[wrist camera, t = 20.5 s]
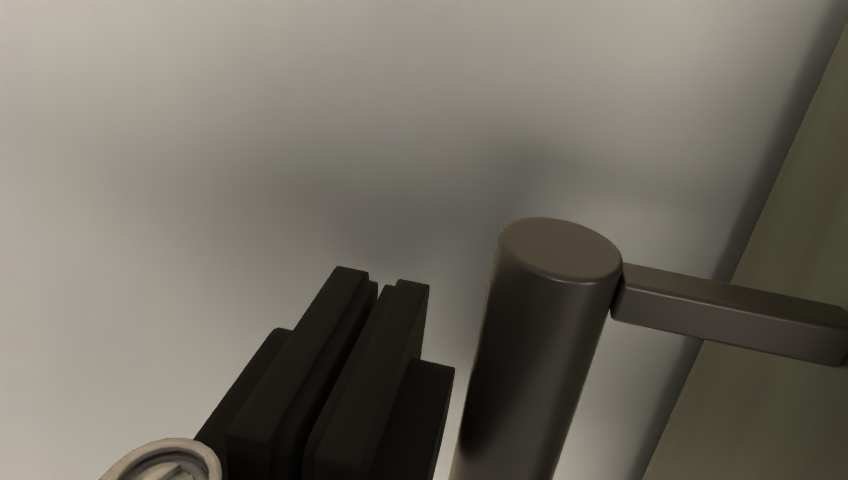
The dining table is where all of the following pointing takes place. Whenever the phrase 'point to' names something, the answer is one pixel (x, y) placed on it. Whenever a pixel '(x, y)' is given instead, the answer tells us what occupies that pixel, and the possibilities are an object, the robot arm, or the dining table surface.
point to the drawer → (682, 332)
